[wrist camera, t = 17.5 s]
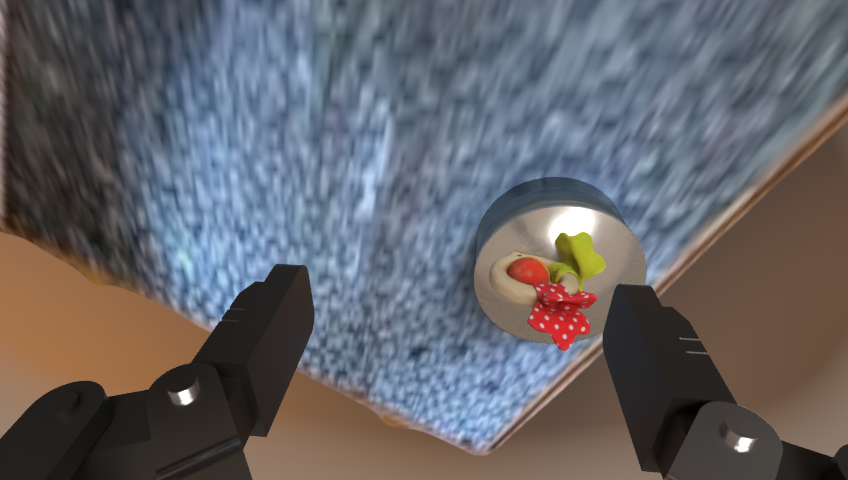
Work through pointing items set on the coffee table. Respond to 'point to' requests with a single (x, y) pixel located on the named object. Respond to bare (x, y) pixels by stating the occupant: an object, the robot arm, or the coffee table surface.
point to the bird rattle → (552, 286)
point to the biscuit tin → (555, 247)
